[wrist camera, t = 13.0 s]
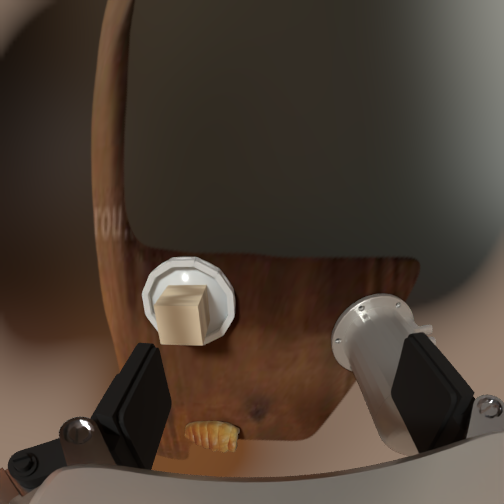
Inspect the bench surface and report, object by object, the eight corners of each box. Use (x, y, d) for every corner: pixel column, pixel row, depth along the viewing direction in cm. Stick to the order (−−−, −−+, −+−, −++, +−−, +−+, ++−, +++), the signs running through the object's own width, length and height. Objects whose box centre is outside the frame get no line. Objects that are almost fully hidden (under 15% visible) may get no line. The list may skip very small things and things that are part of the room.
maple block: (206, 284, 37) (197, 305, 31) (210, 320, 38) (202, 345, 33) (168, 285, 37) (153, 305, 31) (173, 320, 38) (161, 344, 33)
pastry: (187, 437, 46) (183, 452, 43) (185, 414, 45) (180, 430, 41) (238, 443, 46) (237, 458, 43) (240, 420, 45) (239, 436, 41)
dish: (233, 255, 37) (232, 258, 35) (237, 340, 40) (237, 346, 38) (139, 257, 37) (136, 260, 35) (153, 338, 40) (150, 343, 39)
